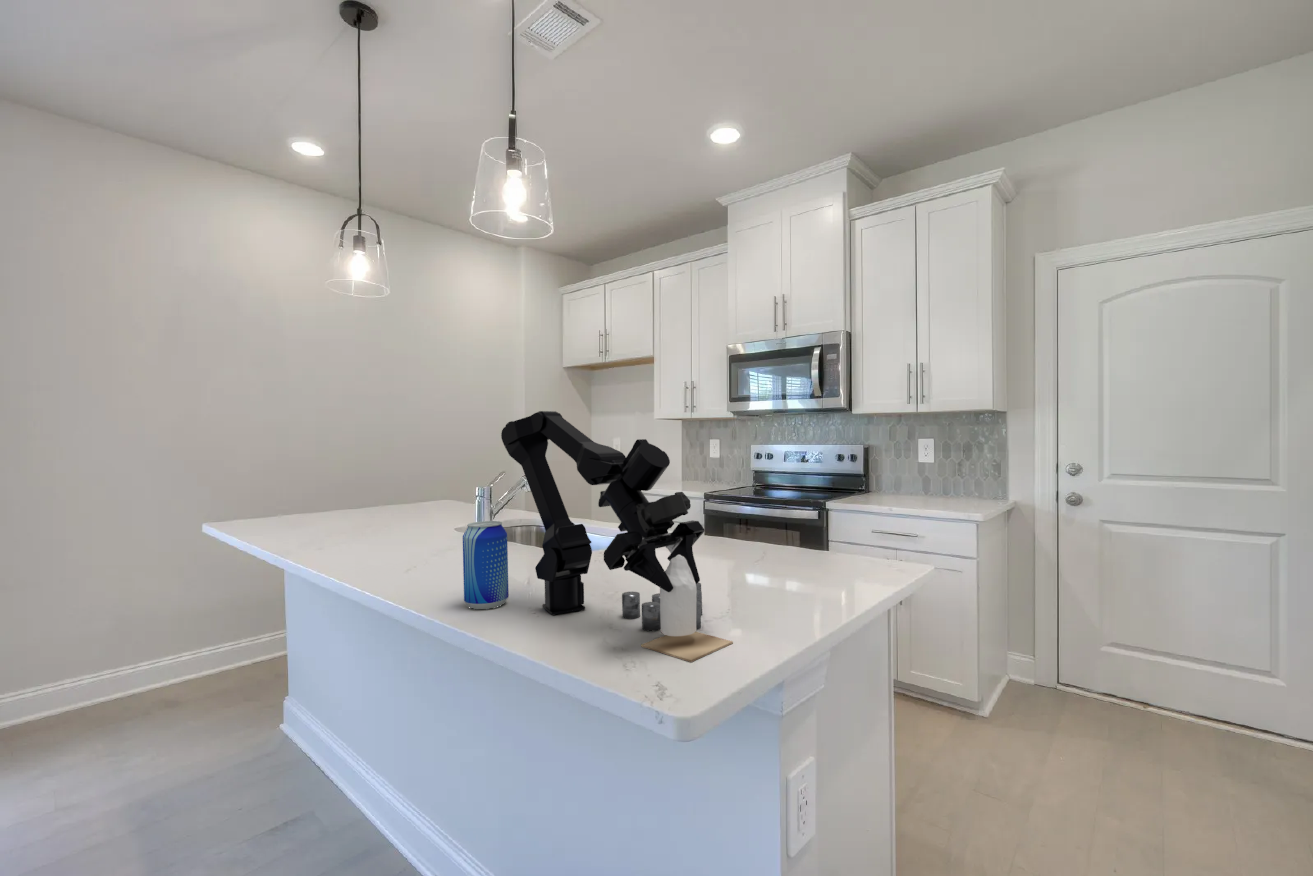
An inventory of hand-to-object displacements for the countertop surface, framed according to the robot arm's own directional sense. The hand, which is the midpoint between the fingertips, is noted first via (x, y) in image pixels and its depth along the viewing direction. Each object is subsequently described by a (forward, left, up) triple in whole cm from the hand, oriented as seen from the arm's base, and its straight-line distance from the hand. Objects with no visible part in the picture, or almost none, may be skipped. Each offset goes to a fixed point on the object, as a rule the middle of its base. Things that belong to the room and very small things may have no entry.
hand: (684, 586), depth 91 cm
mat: (0, 0, -9) cm, 9 cm away
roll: (0, +1, -7) cm, 7 cm away
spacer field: (+6, +12, -9) cm, 16 cm away
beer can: (-22, +40, -9) cm, 46 cm away
